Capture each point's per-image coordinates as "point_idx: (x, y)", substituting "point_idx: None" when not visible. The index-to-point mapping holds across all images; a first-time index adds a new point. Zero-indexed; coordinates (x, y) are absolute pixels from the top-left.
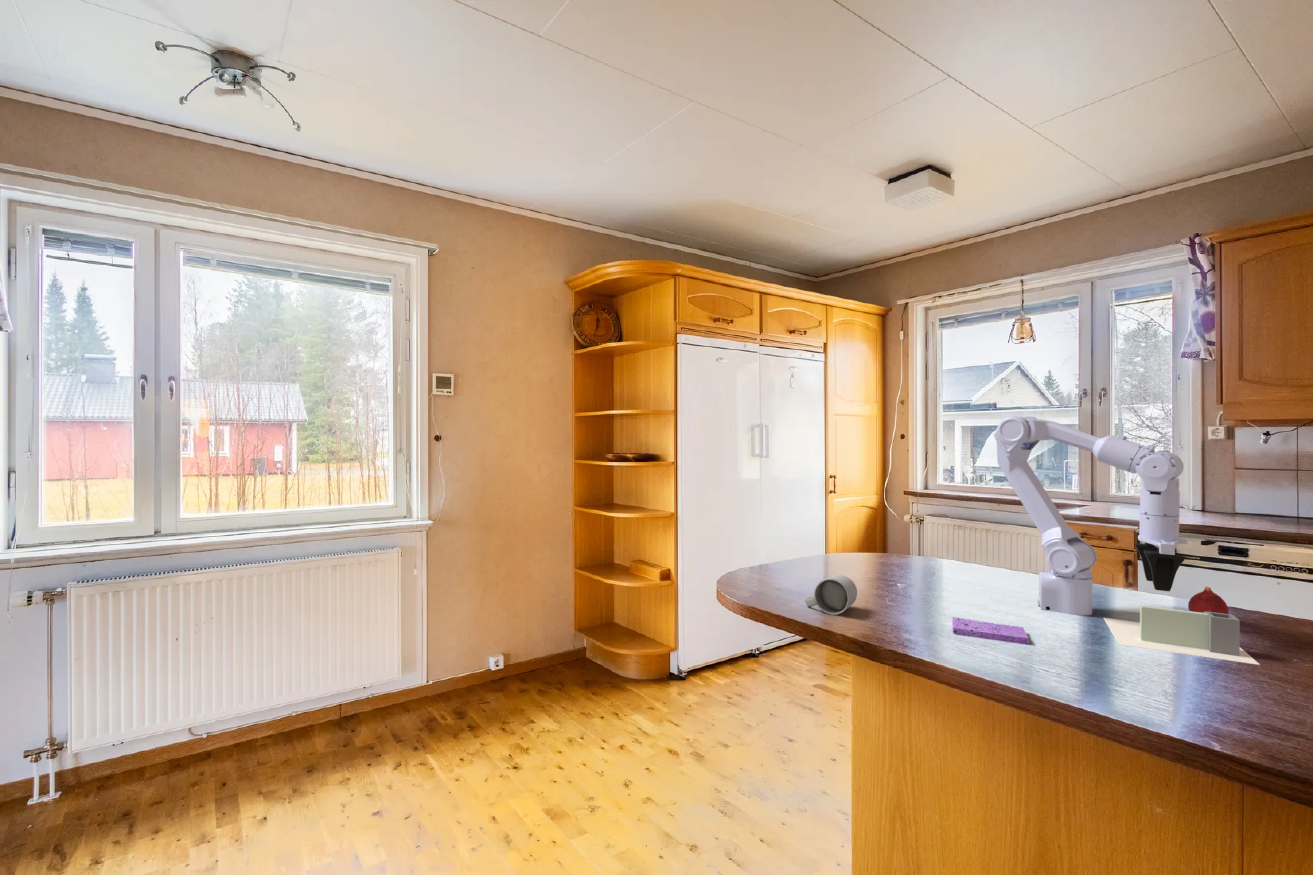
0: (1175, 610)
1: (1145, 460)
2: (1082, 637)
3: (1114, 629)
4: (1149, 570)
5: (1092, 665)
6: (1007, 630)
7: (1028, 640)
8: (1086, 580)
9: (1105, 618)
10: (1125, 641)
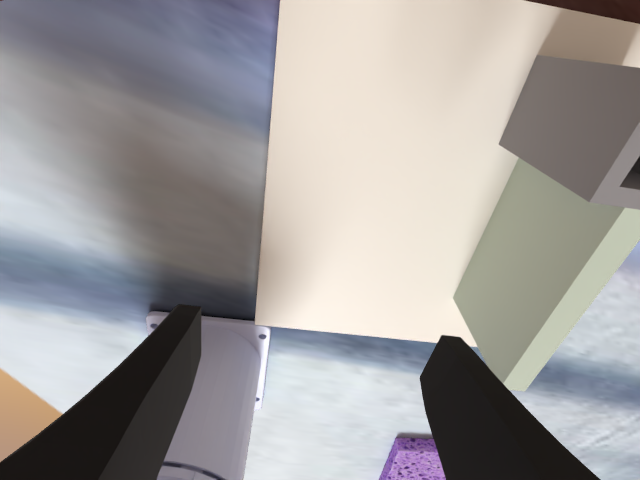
0: (572, 312)
1: None
2: (397, 366)
3: (379, 328)
4: (174, 412)
5: (582, 386)
6: (427, 468)
7: None
8: (226, 473)
9: (262, 321)
10: None
